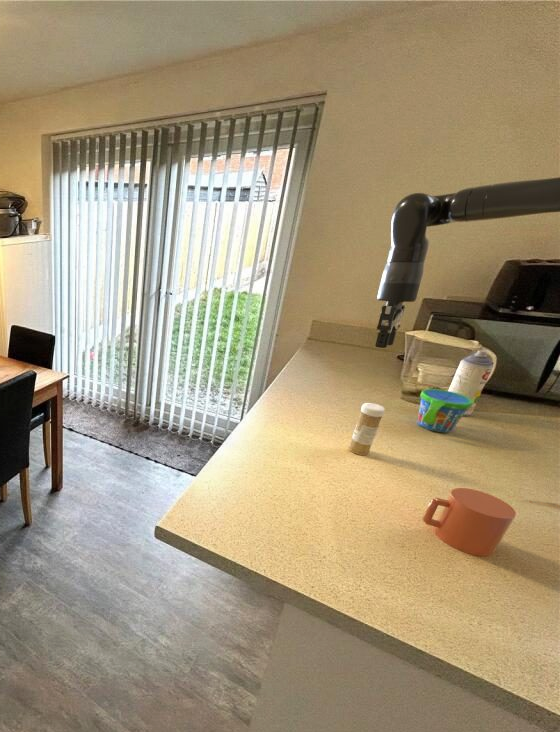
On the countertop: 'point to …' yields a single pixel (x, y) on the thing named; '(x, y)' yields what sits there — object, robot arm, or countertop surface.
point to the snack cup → (441, 409)
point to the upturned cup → (471, 520)
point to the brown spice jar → (366, 428)
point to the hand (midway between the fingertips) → (384, 346)
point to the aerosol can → (472, 377)
